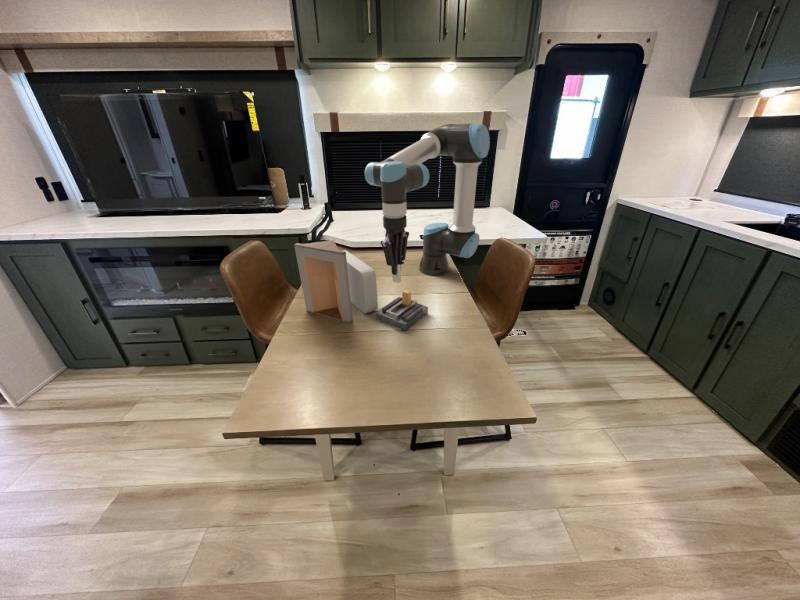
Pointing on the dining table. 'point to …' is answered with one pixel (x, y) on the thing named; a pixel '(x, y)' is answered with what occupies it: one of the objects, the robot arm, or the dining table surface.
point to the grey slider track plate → (407, 315)
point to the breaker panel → (400, 315)
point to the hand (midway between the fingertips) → (396, 281)
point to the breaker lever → (406, 298)
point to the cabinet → (325, 279)
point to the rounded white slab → (361, 284)
